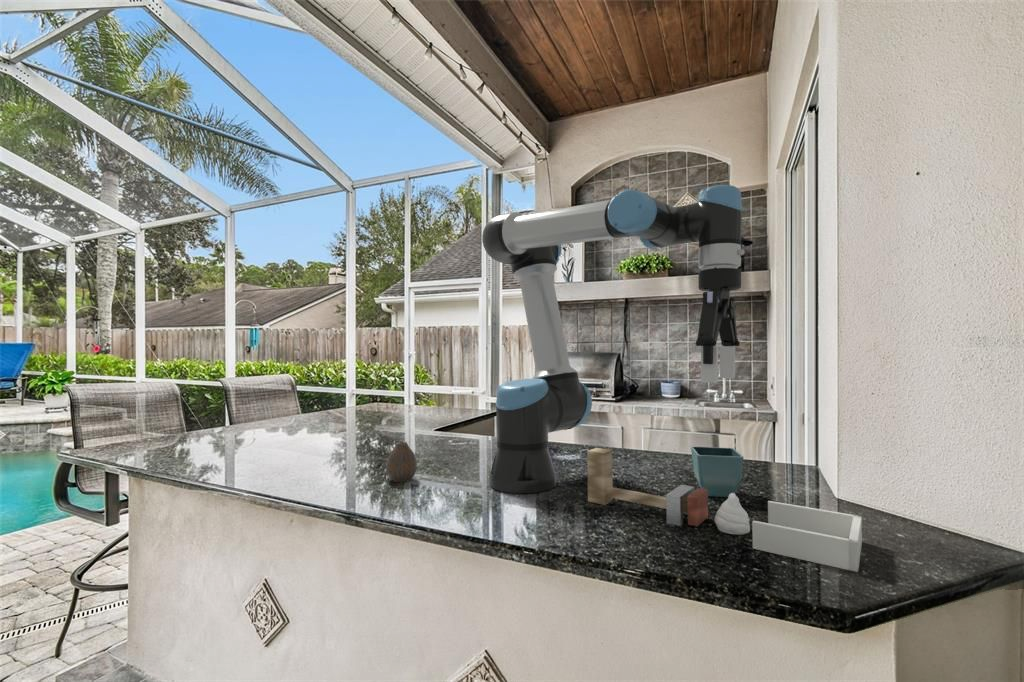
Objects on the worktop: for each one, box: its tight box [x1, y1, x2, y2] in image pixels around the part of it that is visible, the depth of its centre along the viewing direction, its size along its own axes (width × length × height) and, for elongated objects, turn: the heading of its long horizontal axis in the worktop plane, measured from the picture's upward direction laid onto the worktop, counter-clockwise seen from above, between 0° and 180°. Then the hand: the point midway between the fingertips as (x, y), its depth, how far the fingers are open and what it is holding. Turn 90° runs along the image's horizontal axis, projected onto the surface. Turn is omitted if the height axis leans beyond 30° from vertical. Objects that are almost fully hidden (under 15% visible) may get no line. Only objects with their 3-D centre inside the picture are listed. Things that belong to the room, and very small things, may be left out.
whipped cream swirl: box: [713, 492, 751, 536], centre depth 81 cm, size 6×6×5 cm
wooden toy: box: [586, 447, 709, 527], centre depth 91 cm, size 22×6×10 cm, turn 52°
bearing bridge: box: [665, 484, 695, 527], centre depth 86 cm, size 2×8×5 cm, turn 142°
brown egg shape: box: [386, 441, 418, 483], centre depth 114 cm, size 7×7×9 cm
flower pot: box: [690, 446, 745, 498], centre depth 101 cm, size 9×9×9 cm
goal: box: [751, 500, 863, 573], centre depth 74 cm, size 13×13×4 cm
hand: (718, 380), depth 92 cm, fingers open, 13 cm apart
